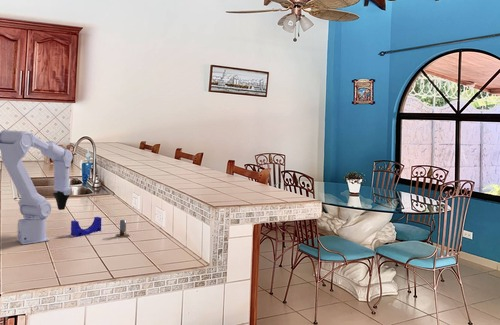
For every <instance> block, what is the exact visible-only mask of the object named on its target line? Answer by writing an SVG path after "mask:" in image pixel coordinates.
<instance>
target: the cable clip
mask: <svg viewBox="0 0 500 325" xmlns="http://www.w3.org/2000/svg"><path fill="white" fill-rule="evenodd" d="M98 231H99V232H102V217H100V216H94V218H93V222H92V223H91V224H90V225H89V226H88V227H87V228H81V226H80V222H79V221H77V220H71V221H70V235H71V236H73V237H77V238H78V237H83V236H88V235H91V234H93V233H98Z"/></svg>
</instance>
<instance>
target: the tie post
mask: <svg viewBox="0 0 500 325" xmlns="http://www.w3.org/2000/svg"><path fill="white" fill-rule="evenodd" d="M115 236H116V237H118V238H120V239H121V238H128V237H130V234H129V233H127V220H126V219H120V221H119V233H115Z"/></svg>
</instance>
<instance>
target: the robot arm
mask: <svg viewBox="0 0 500 325" xmlns="http://www.w3.org/2000/svg"><path fill="white" fill-rule="evenodd" d="M31 147H32V148H34V149H37V150H40V154H42V155H43V156H46V157H47V158H49V159H51V161H52V162H53V163H54V165H53V168H54V169H53V170H54V172H53V174H54V175H53V180H54V181H53V182H54V183H53V191H56V192H53V193H52V195H53V196H54V199H55V201H56V206H57V210H58V211H64V210H65V209H66V205H67V201H68V199H69V197H70V195H71V190H72V189H73V187H71V186H70V167H71V166H72V161H73V158H74V156H73V154H72V151H71V150H70V149H69V148H68V149H67V148H63V146H61V145H57V144H55V141H50V140H49V141H44V140H42V139H40V138H38V136H36V135H34V133H33V132H30V131H27V130H9V129H2V130H1V131H0V155H1V161H2V163H3V165H4V168H6V171H7V173H8V175H9V177H10V179H11V180H12V182H13V184H14V186H15V188H16V190H17V192H18V194H19V195H20V199H19V200H18V202H17V204H18V207H19V212H20V214H21V215H22V218H21V219H18V220H17V239H16V240H17V241H18V242H19V243H20V244H21V245H28V244H36V243H42V242H49V241H50V239H49V238H48V237H47V218H48V217H49V215H50V214H51V211H52V204H51V203H50V202H49V201H48V200H47V199H46V197H45V196H43V195H41V194H39V193H38V191H37V188H36V187H35V184H34V183H33V181H32V179H31V177H30V174H29V172H28V171H27V168H26V166H25V164H24V162H23V160H22V159H23V158H24V157H25V156H27V153H28V152H29V150H30V148H31Z"/></svg>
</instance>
